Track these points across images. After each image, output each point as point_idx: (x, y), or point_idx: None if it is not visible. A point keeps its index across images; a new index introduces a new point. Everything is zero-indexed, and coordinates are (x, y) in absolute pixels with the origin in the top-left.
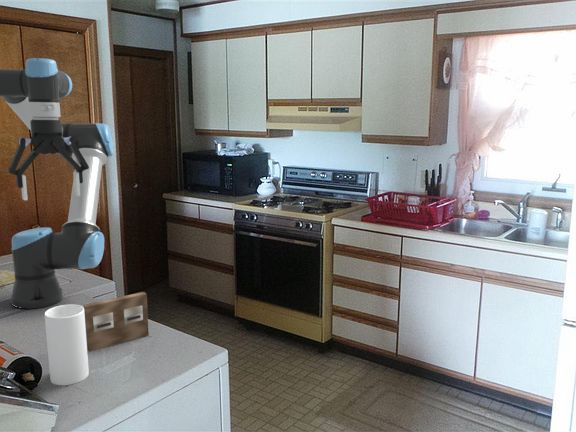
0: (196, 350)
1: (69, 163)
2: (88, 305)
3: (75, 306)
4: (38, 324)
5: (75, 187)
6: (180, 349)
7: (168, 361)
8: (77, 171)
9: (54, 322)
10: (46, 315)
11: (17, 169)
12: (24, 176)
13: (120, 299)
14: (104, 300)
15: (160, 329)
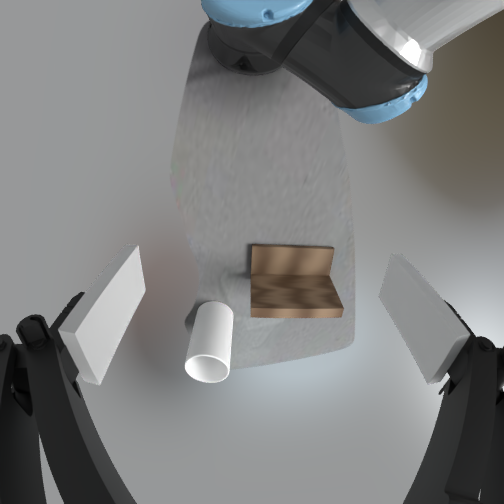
0: (337, 335)
1: (458, 407)
2: (255, 314)
3: (223, 361)
4: (222, 146)
5: (402, 296)
6: (328, 326)
7: (303, 339)
8: (451, 370)
9: (193, 373)
10: (186, 369)
11: (29, 365)
12: (95, 380)
13: (302, 317)
14: (282, 309)
15: (346, 274)
